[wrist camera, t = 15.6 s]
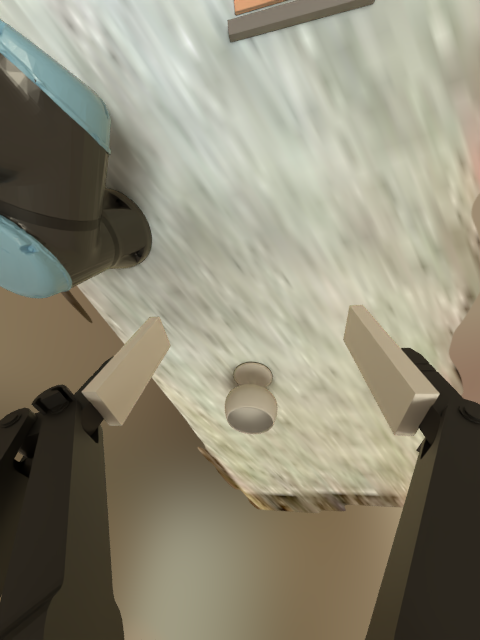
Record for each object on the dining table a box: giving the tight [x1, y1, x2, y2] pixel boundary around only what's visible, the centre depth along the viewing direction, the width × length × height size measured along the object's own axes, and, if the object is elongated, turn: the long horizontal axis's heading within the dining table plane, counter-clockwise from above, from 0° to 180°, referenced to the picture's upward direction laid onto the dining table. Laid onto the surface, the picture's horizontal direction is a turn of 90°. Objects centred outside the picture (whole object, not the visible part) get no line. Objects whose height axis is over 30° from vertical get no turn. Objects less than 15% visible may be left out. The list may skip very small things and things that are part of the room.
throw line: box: [228, 0, 375, 42], centre depth 25 cm, size 18×1×2 cm, turn 97°
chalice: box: [225, 362, 277, 434], centre depth 56 cm, size 14×14×15 cm
